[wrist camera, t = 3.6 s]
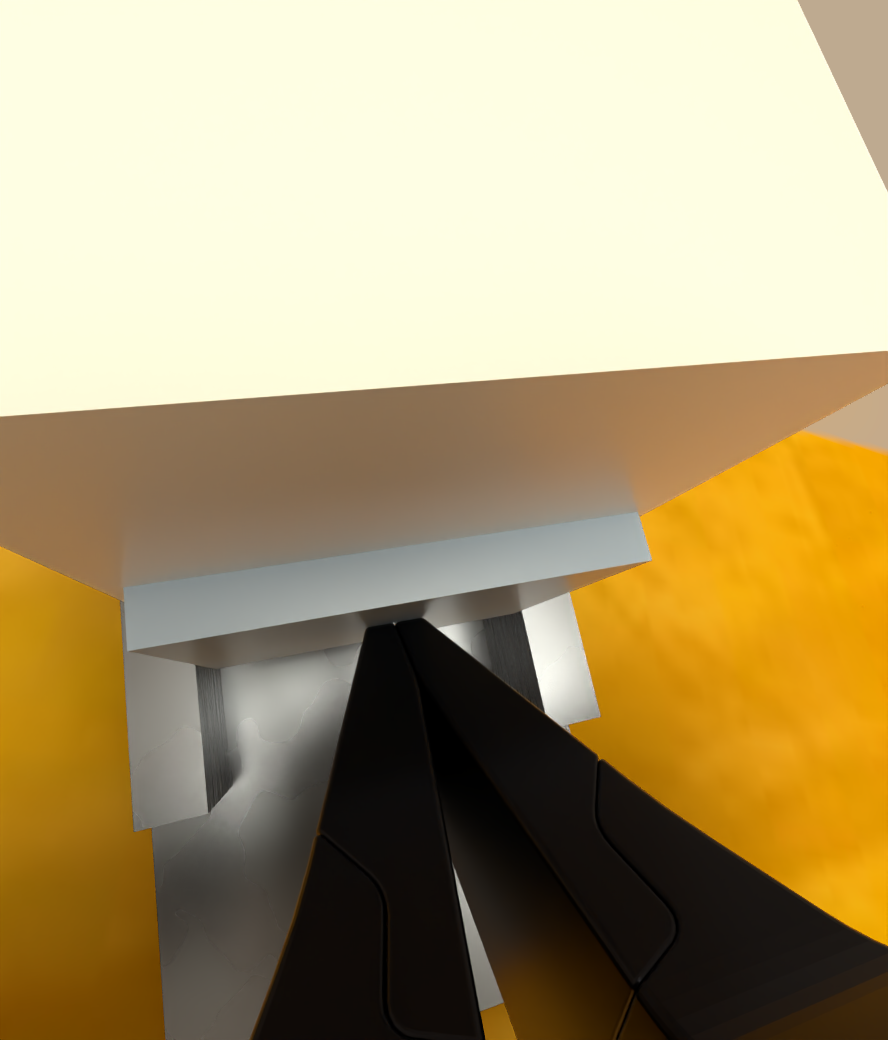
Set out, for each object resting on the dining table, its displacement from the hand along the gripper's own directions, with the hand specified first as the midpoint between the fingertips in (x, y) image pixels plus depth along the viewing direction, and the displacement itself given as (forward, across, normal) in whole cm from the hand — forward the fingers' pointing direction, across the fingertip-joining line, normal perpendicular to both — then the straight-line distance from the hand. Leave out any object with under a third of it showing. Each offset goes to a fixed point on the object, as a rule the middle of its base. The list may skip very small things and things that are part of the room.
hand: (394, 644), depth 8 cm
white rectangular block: (+6, 0, +2) cm, 7 cm away
